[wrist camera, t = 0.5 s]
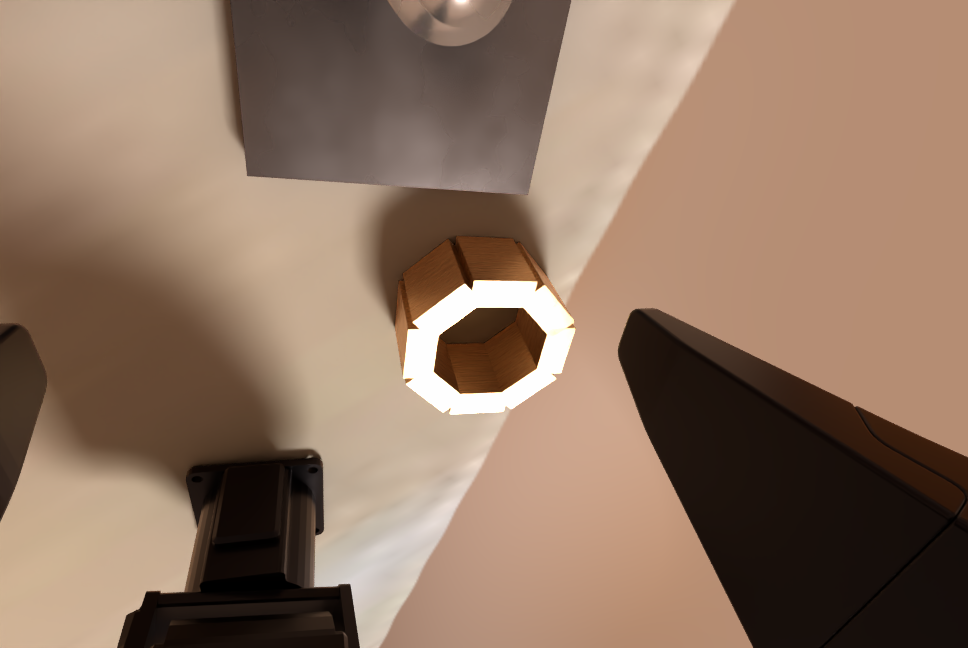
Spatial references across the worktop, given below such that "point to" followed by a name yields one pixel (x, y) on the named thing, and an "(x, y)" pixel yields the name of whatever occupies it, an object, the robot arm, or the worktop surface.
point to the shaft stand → (397, 89)
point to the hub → (501, 360)
